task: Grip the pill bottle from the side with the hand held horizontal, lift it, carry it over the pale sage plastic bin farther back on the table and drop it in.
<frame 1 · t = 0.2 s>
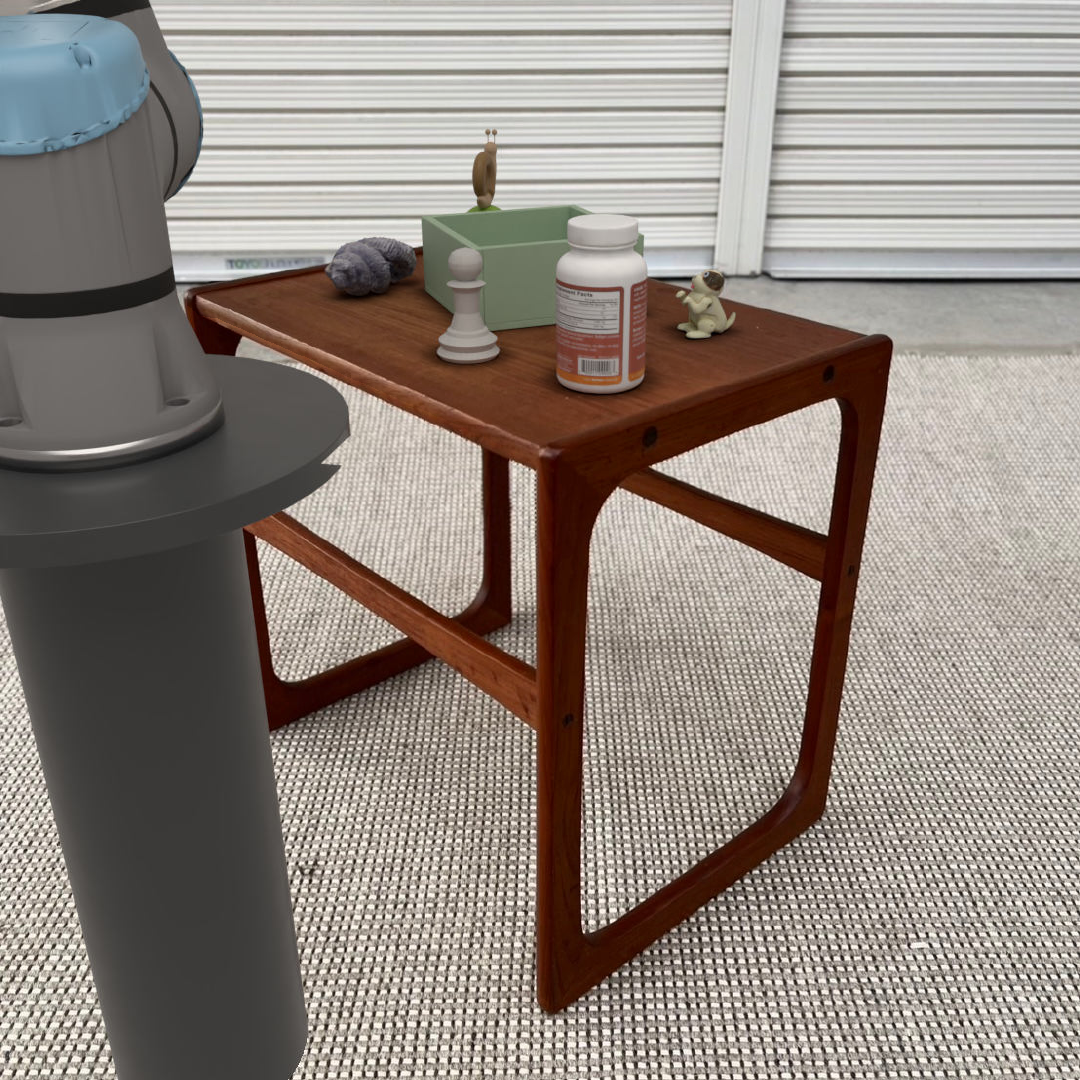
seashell: (371, 293, 103), on the table
pill bottle: (599, 384, 80), on the table
chess piece: (468, 357, 86), on the table
toy dog: (705, 335, 91), on the table
snail figurine: (487, 261, 114), on the table
bin: (528, 302, 99), on the table
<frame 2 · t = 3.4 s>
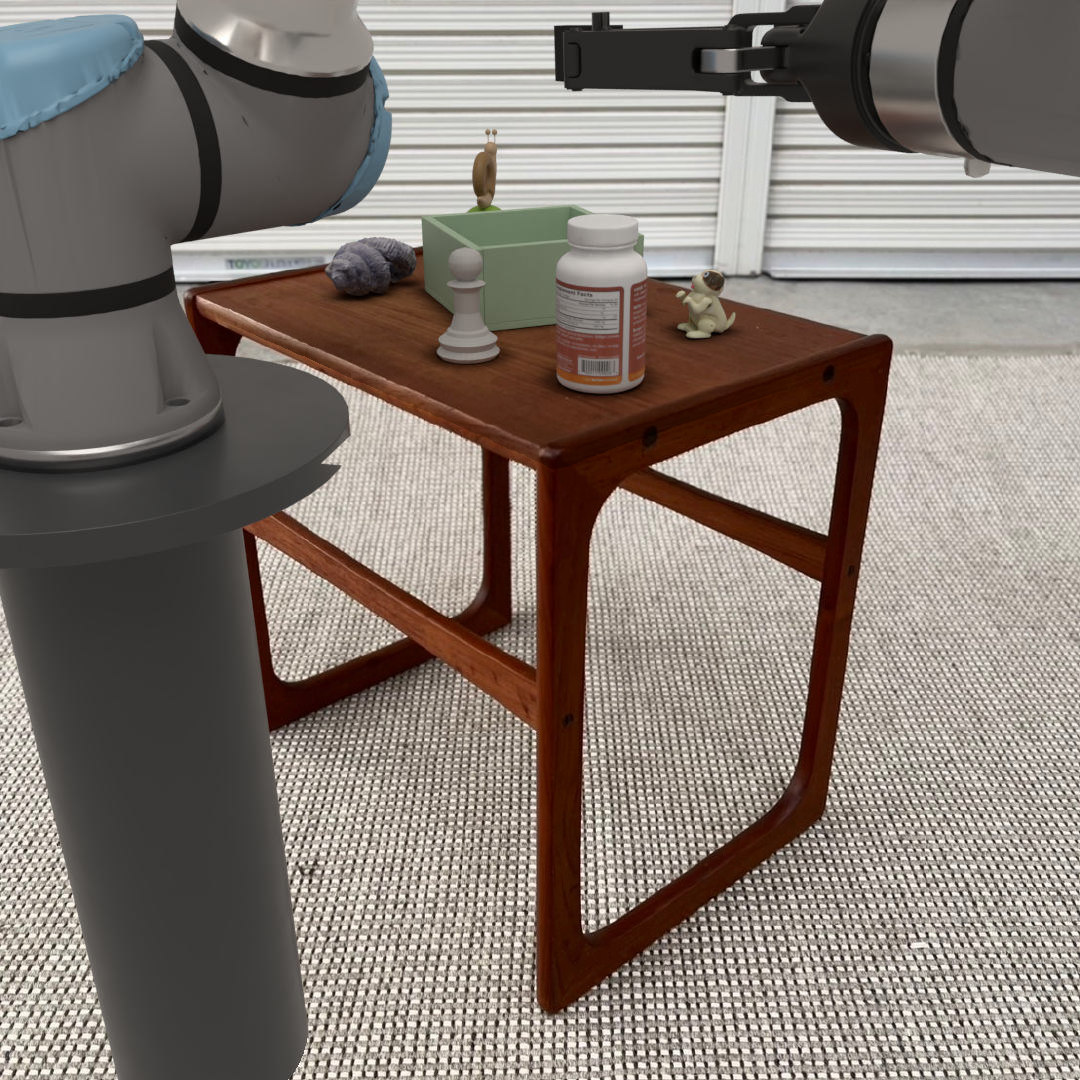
hand: (673, 47, 63), 22 cm above the table, tool horizontal, fingers open, 13 cm apart
nothing on the table moved.
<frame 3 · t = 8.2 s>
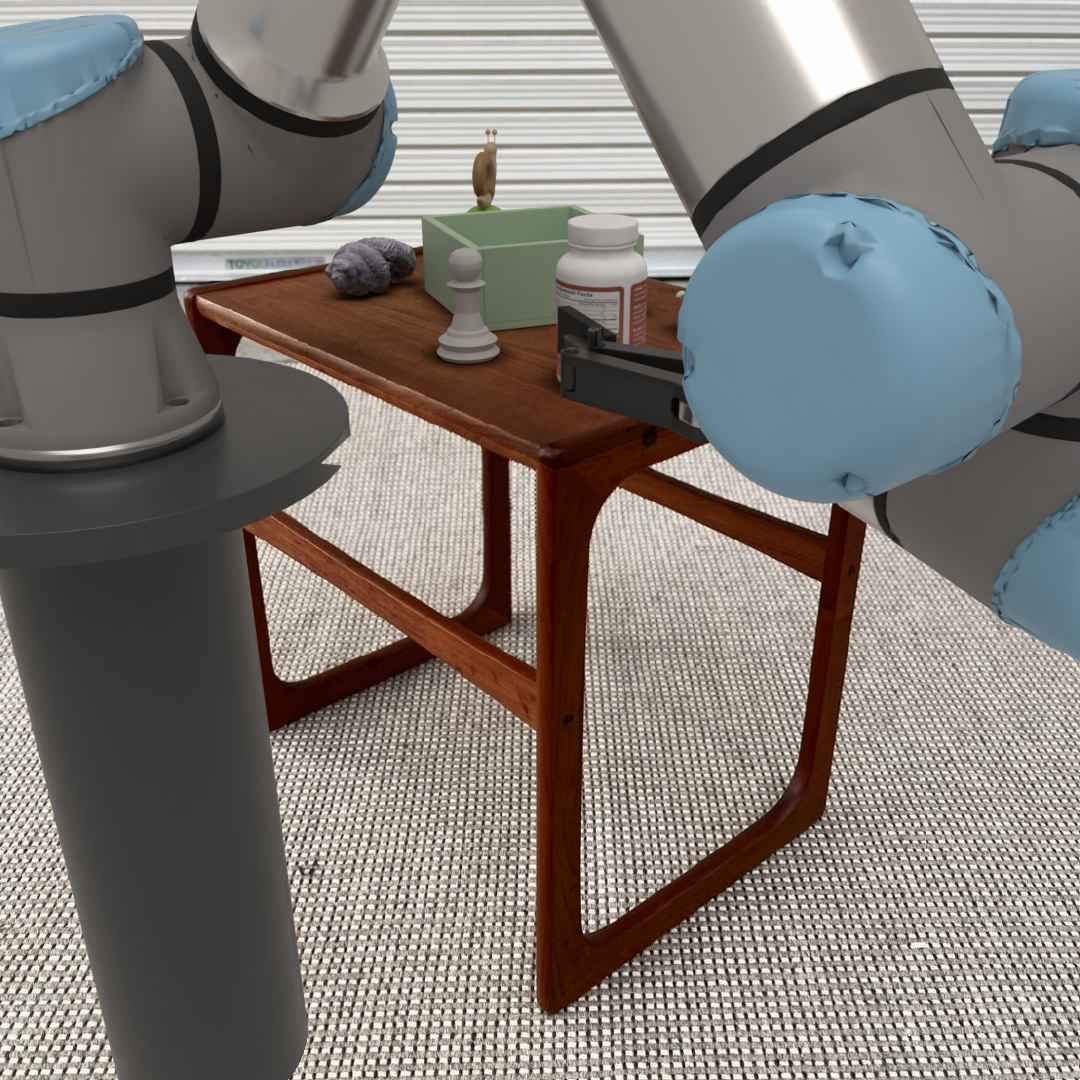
hand: (667, 316, 69), 7 cm above the table, tool horizontal, fingers open, 13 cm apart
nothing on the table moved.
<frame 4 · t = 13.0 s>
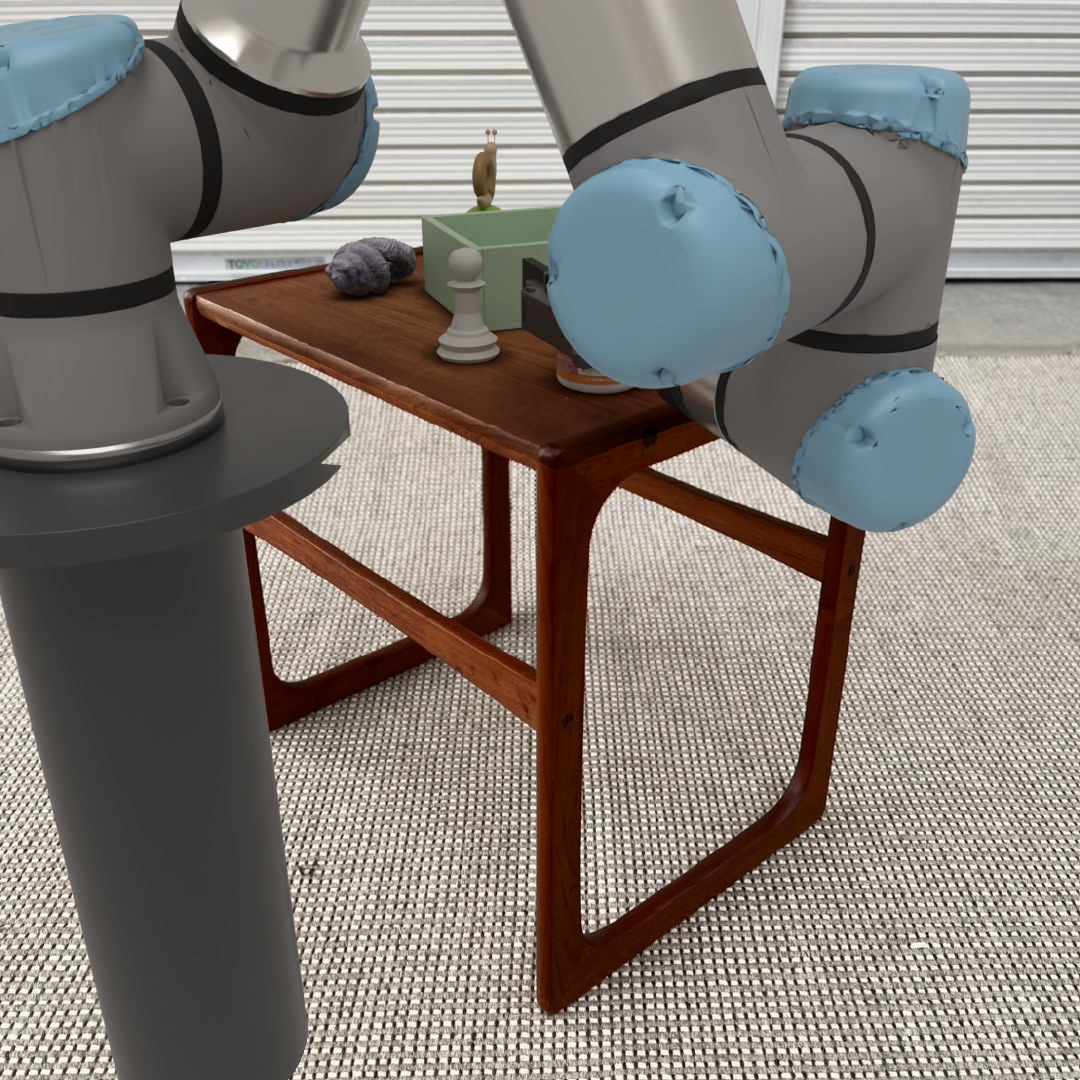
hand: (572, 273, 81), 7 cm above the table, tool horizontal, fingers closed on pill bottle, 6 cm apart
pill bottle: (599, 384, 80), on the table, touching gripper
everything else where it was.
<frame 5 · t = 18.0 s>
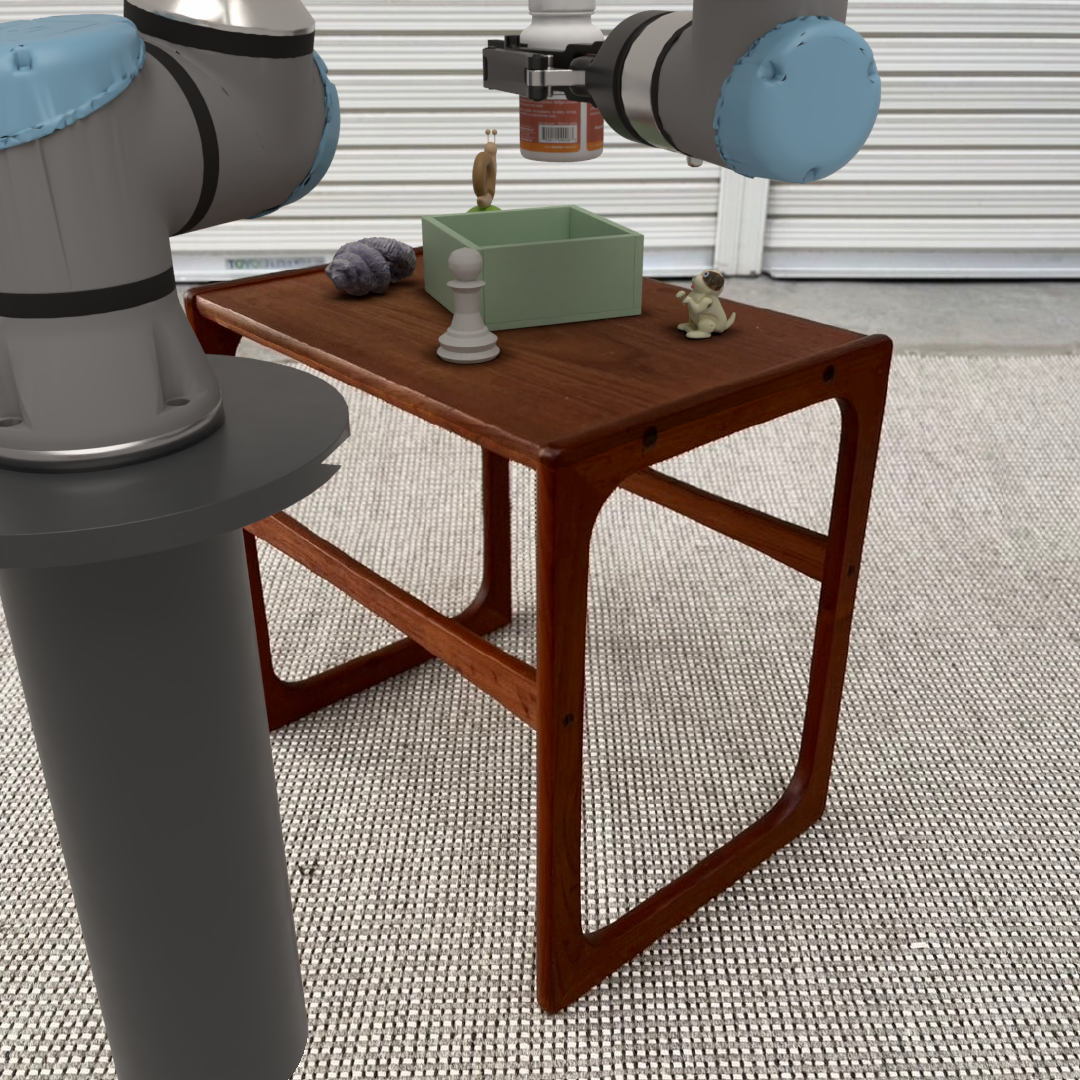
hand: (536, 58, 86), 20 cm above the table, tool horizontal, fingers closed on pill bottle, 6 cm apart
pill bottle: (561, 160, 85), point 13 cm above the table, touching gripper
everything else where it was.
when the fingers open (8 cm above the table, at t = 23.3 s): pill bottle stays where it is, resting on bin.
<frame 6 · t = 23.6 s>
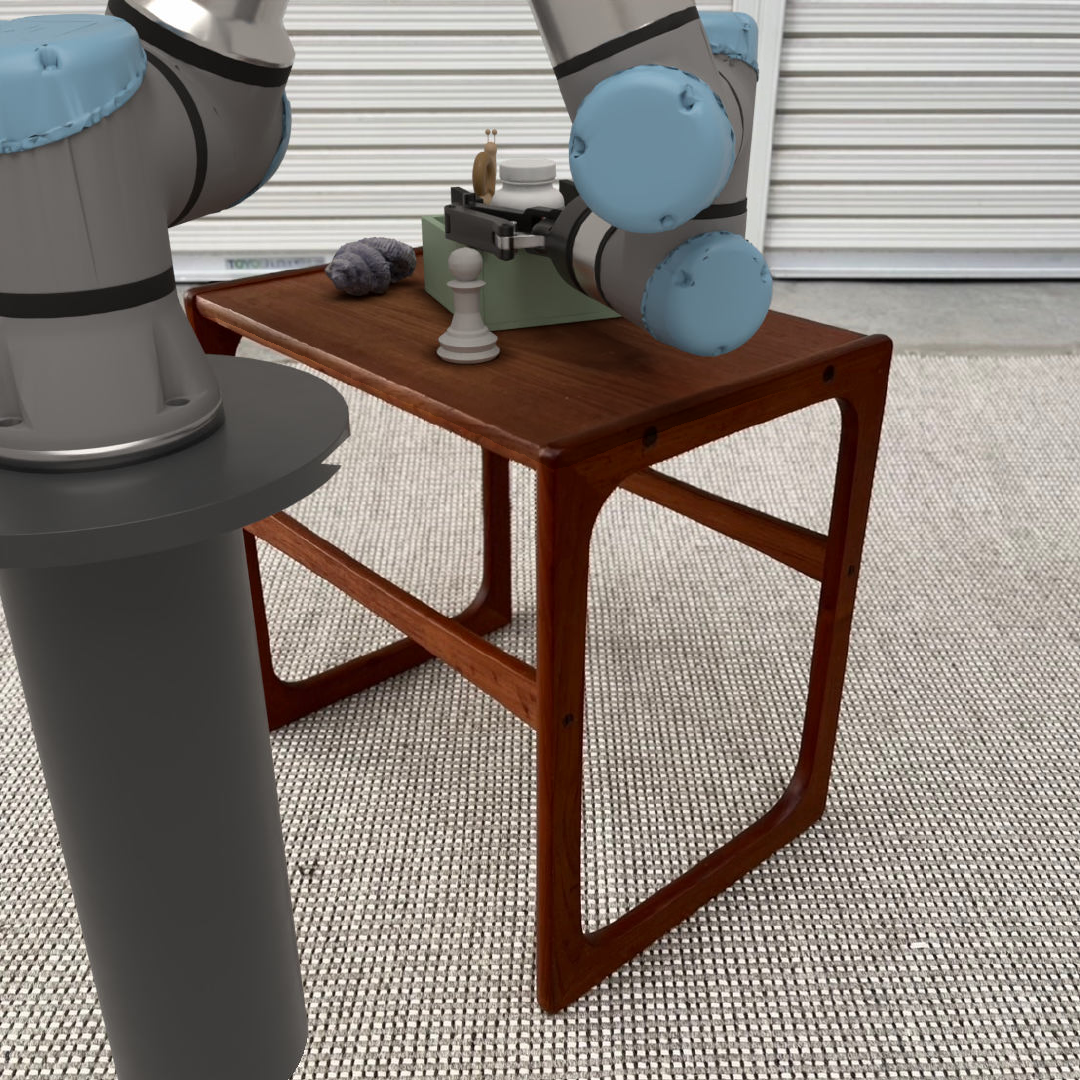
hand: (510, 199, 100), 8 cm above the table, tool horizontal, fingers open, 9 cm apart
pill bottle: (528, 297, 99), resting on bin
everything else where it was.
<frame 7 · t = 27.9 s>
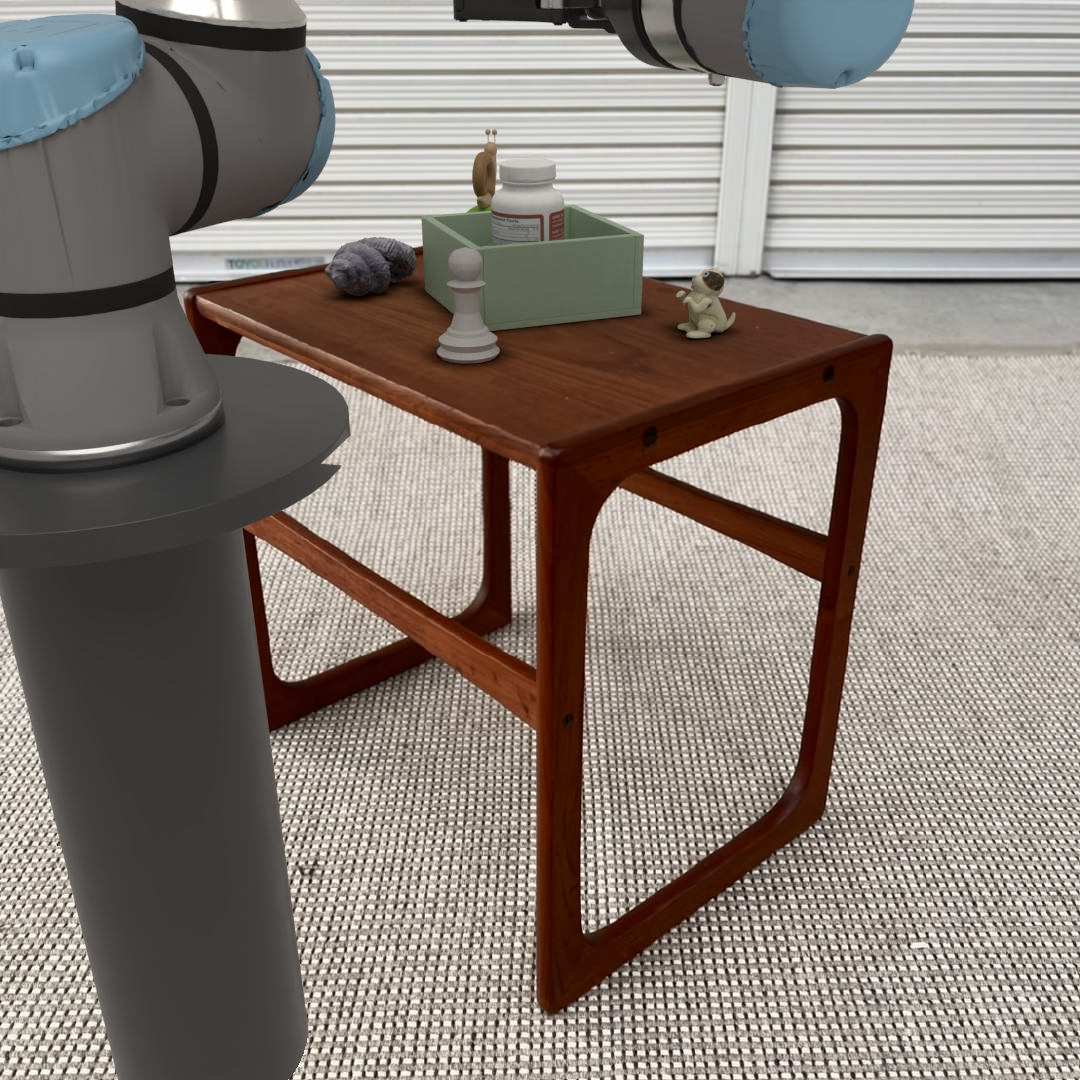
nothing on the table moved.
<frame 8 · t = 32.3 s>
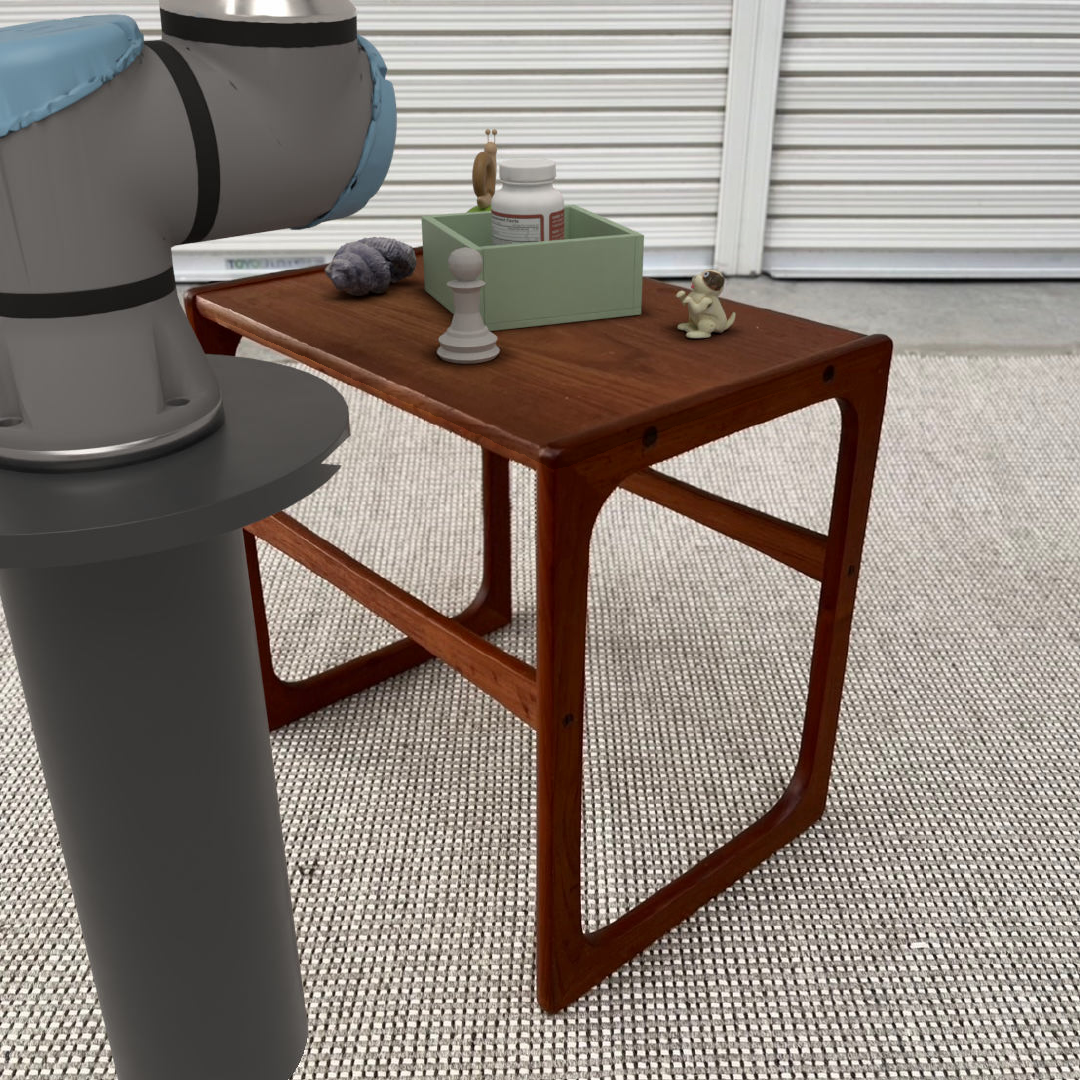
nothing on the table moved.
at the end: pill bottle inside the target area in the bin (0.0 cm from its centre), point 0.4 cm above the bin's base; the gripper is holding nothing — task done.
